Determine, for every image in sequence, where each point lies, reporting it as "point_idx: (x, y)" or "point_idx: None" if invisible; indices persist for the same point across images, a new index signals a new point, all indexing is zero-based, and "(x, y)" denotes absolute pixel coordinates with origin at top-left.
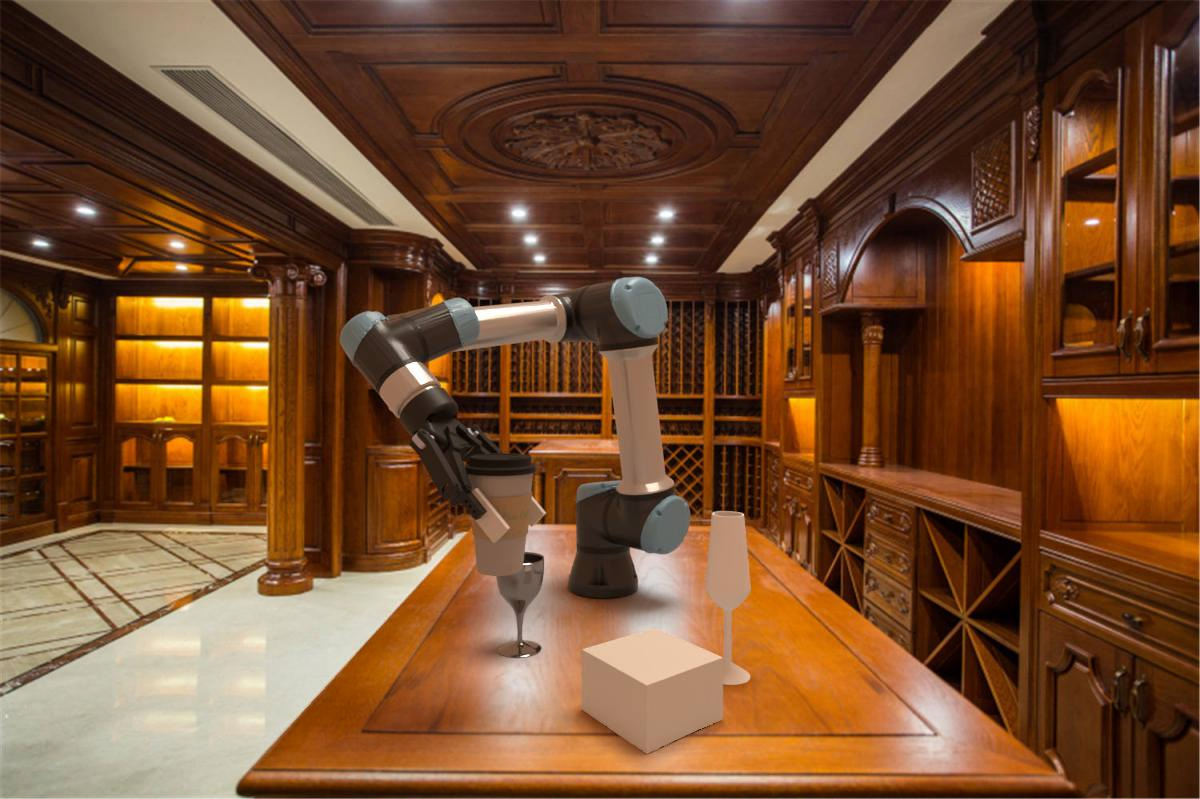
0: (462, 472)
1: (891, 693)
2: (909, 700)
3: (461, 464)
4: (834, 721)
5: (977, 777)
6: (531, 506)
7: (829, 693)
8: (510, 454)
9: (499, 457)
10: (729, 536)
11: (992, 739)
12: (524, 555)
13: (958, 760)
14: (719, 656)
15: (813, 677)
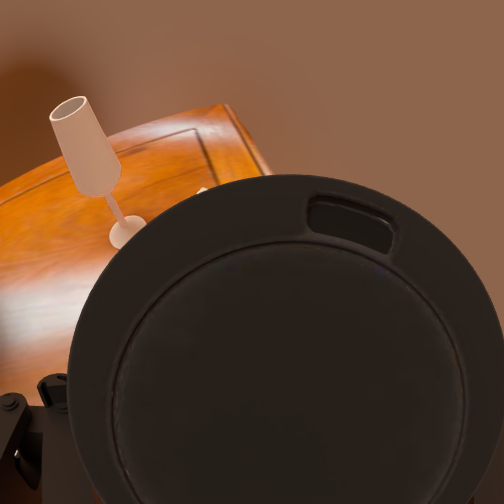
0: (499, 451)
1: (146, 144)
2: (154, 137)
3: (489, 498)
4: (191, 165)
5: (234, 119)
6: None
7: (151, 169)
8: (119, 369)
9: (329, 371)
10: (95, 119)
11: (194, 113)
12: (15, 454)
13: (220, 123)
14: (201, 189)
15: (126, 179)
